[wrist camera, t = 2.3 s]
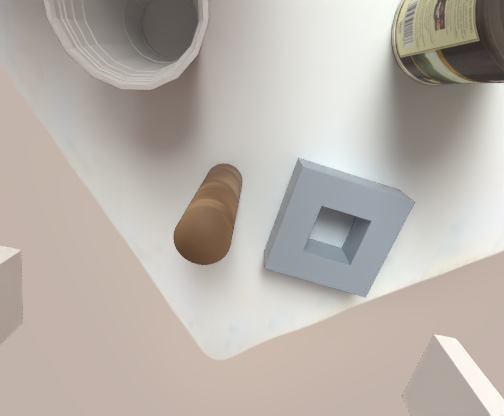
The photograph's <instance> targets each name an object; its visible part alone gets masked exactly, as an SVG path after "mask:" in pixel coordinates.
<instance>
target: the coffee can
mask: <svg viewBox="0 0 504 416" xmlns="http://www.w3.org/2000/svg"><path fill="white" fill-rule="evenodd" d="M392 45H393V51H394V54H395V58H396V60H397V61H398V63H399V65H400V67H401V68H402V69H403V70H404V72H405V73H406V74H407V75H409V76H410V77H411V78H413V79H414V80H416V81H419V82H421V83H424V84H429V85H444V84H460V83H504V0H402V1H401V3H400V5H399V7H398V9H397V11H396V14H395V18H394V22H393V28H392Z"/></svg>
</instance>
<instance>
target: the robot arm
mask: <svg viewBox="0 0 504 416" xmlns="http://www.w3.org/2000/svg"><path fill="white" fill-rule="evenodd" d="M22 305H23V304H22V259H21V250H19V249H14V248H8V247H4V246H0V345H1V344H2V343H3V342H4V341H5V340H6V339H7V338H8V337H9V336H10V335H11V334H12V333H13V332H14V331H15V330H16V329H17V328H18V327H19V326H20V325H21V324H22V323H23V306H22ZM402 398H403V400H404V402H405V404H406V406H407V408H408V411H409V413H410V415H411V416H504V400H503V398H502V397H501V396H500V394H499V393H498V392H497V391H496V389H495V388H494V387H493V385H492V384H491V383H490V382H489V380H488V379H487V378H486V377H485V375H484V374H483V373H482V371H481V370H480V369H479V367H478V366H477V365H476V364H475V362H474V361H473V360H472V359H471V357H470V356H469V355H468V354H467V352H466V351H465V350H464V348H463V347H462V346H461V345H460V343H459V342H458V341H457V340H456V339H455V338H450V337H445V336H440V335H435V334H433V336H432V338H431V340H430V342H429V344H428V346H427V348H426V350H425V352H424V354H423V356H422V358H421V360H420V362H419V363H418V366H417V367H416V369H415V371H414V373H413V375H412V377H411V379H410V381H409V383H408V385H407V387H406V389H405V391H404V393H403V394H402Z"/></svg>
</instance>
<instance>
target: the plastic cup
mask: <svg viewBox="0 0 504 416" xmlns="http://www.w3.org/2000/svg"><path fill="white" fill-rule="evenodd" d="M43 1H44V5H45V10H46V15H47V19H48V21H49V23H50V25H51V26H52V28H53V30H54V32H55V33H56V35H57V37H58V39H59V41H60V42H61V44H62V46H63V48H64V49H65V51H66V53H67V54H68V55H70V56H71V57H72V58H73V59H74V60H75V61H76V62H77V63H78V64H79V65H80V66H81V67H82V68H83V69H85V70H86V71H87V72H88V73H89V74H90V75H91V76H92V77H94V78H97V79H99V80H101V81H103V82H106V83H108V84H110V85H113V86H115V87H117V88H119V89H129V90H152V89H154V88H157V87H159V86H161V85H163V84H166V83H168V82H170V81H172V80H175V79H177V78H178V77H179V76H180V75H181V74H182V73H183V71H184V70H185V69H186V68H187V67H188V66H189V64H190V63H191V62H192V61H193V60H194V59H195V57H196V56H197V55H198V53H199V50H200V47H201V44H202V41H203V38H204V35H205V31H206V28H207V25H208V22H209V14H208V0H43Z"/></svg>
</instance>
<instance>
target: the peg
mask: <svg viewBox="0 0 504 416" xmlns="http://www.w3.org/2000/svg"><path fill="white" fill-rule="evenodd" d="M241 187H242V177H241V174H240V172H239V171H238V170H237V169H236V168H235V167H234V166H232V165H229V164H219V165H216V166H214V167H213V168H212V169H211V170H210V171H209V173H208V174H207V176H206V178H205V179H204V181H203V183H202V184H201V186H200V188H199V189H198V191H197V193H196V194H195V196H194V198H193V199H192V201H191V203H190V204H189V206H188V208H187V209H186V211H185V213H184V214H183V216H182V218H181V219H180V221H179V222H178V224H177V226H176V228H175V231H174V243H175V246H176V249H177V250H178V252H179V253H180V254H181V255H182V256H183V257H184V258H185V259H187V260H188V261H190V262H192V263H195V264H201V265H208V264H213V263H215V262H218V261H219V260H221V259H222V258H223V257H224V256H225V255H226V254H227V252H228V251H229V248H230V245H231V239H232V234H233V229H234V224H235V218H236V213H237V208H238V203H239V197H240V192H241Z"/></svg>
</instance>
